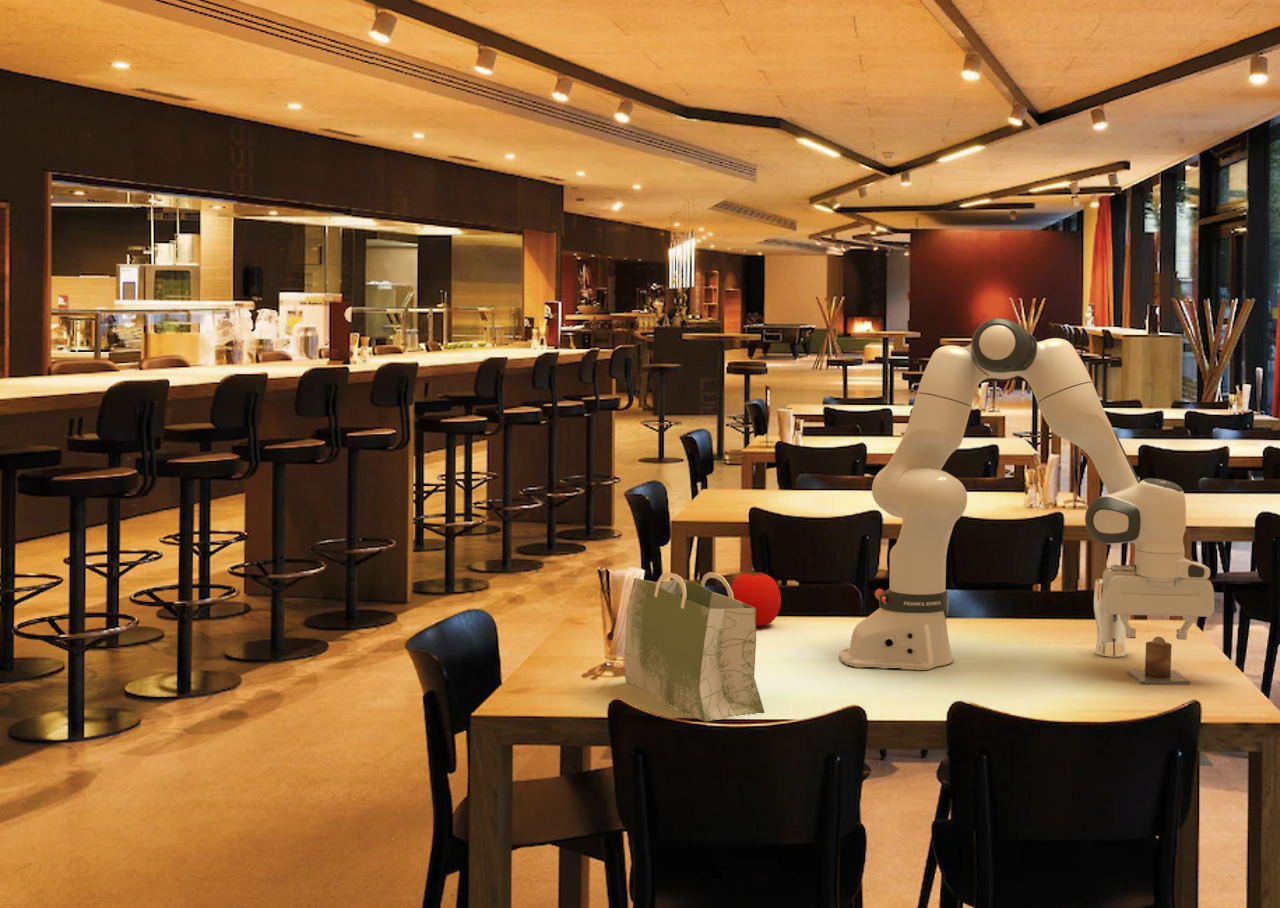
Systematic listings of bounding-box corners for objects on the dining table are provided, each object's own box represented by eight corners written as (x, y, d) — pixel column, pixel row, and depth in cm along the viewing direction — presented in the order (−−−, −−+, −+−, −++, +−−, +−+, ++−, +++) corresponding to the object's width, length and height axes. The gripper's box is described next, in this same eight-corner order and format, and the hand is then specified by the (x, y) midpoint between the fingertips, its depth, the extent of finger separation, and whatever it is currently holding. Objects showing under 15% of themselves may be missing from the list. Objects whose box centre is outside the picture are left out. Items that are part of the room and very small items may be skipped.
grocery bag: (771, 712, 264) (771, 581, 262) (701, 722, 258) (700, 588, 256) (685, 675, 293) (685, 556, 291) (621, 683, 287) (620, 562, 285)
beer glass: (1130, 658, 303) (1132, 584, 302) (1094, 657, 304) (1095, 583, 303) (1126, 651, 310) (1128, 578, 308) (1091, 649, 311) (1092, 577, 310)
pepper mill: (1149, 677, 284) (1150, 639, 283) (1141, 672, 288) (1143, 633, 288) (1173, 678, 284) (1175, 639, 283) (1166, 672, 288) (1167, 634, 288)
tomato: (746, 619, 346) (746, 564, 345) (790, 624, 339) (790, 569, 338) (717, 628, 336) (716, 572, 335) (762, 634, 329) (762, 577, 328)
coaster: (1141, 684, 282) (1141, 681, 282) (1127, 673, 291) (1127, 669, 291) (1189, 684, 281) (1190, 680, 281) (1174, 672, 290) (1174, 669, 290)
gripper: (1107, 567, 281) (1104, 640, 282) (1219, 569, 280) (1215, 643, 281) (1098, 562, 287) (1095, 633, 288) (1208, 564, 286) (1204, 636, 287)
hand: (1155, 638), depth 285 cm, fingers open, 8 cm apart
